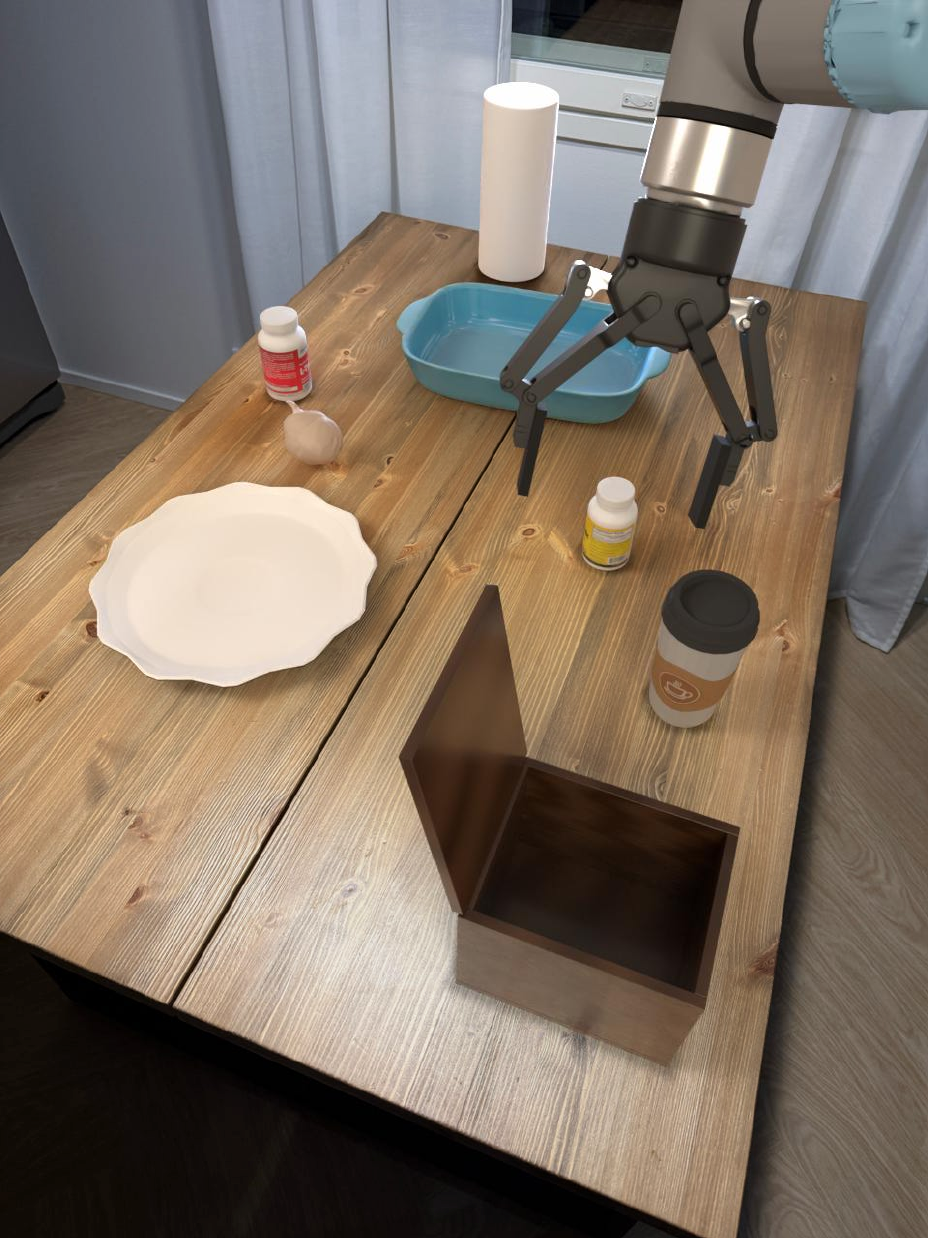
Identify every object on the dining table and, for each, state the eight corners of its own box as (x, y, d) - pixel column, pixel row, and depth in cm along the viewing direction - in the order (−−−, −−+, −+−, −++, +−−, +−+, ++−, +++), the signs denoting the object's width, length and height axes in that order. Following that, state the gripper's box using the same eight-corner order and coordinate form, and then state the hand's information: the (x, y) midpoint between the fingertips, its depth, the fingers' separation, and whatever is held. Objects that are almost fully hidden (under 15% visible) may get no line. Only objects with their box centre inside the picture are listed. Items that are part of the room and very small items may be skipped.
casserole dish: (374, 397, 120) (370, 350, 114) (429, 315, 134) (428, 269, 128) (646, 453, 112) (656, 406, 107) (673, 360, 127) (684, 314, 121)
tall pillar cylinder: (549, 254, 147) (564, 85, 128) (537, 285, 140) (552, 112, 121) (486, 245, 148) (492, 78, 129) (471, 276, 141) (475, 104, 122)
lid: (498, 584, 55) (486, 582, 55) (411, 759, 47) (397, 756, 47) (527, 752, 67) (517, 750, 68) (463, 915, 59) (451, 911, 59)
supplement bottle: (590, 532, 103) (601, 466, 95) (635, 547, 101) (650, 481, 94) (573, 562, 99) (583, 495, 92) (619, 578, 98) (633, 511, 91)
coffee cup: (622, 711, 86) (648, 608, 75) (661, 656, 91) (691, 551, 79) (701, 753, 83) (741, 653, 72) (737, 694, 88) (780, 591, 76)
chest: (702, 901, 74) (740, 827, 64) (666, 1067, 65) (704, 1010, 56) (512, 834, 77) (522, 754, 68) (455, 983, 69) (457, 916, 59)
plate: (39, 605, 94) (31, 590, 92) (243, 465, 110) (240, 450, 108) (232, 749, 83) (227, 735, 81) (429, 571, 98) (429, 555, 96)
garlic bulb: (327, 437, 114) (321, 383, 108) (352, 463, 110) (347, 409, 104) (281, 454, 111) (271, 401, 105) (304, 482, 108) (296, 428, 102)
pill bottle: (312, 402, 119) (301, 327, 110) (265, 404, 118) (251, 328, 110) (313, 375, 123) (303, 301, 114) (268, 377, 122) (255, 302, 114)
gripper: (854, 237, 62) (754, 518, 72) (504, 164, 61) (449, 461, 70) (898, 245, 56) (781, 554, 65) (507, 163, 54) (446, 492, 63)
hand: (609, 506), depth 68 cm, fingers open, 13 cm apart
